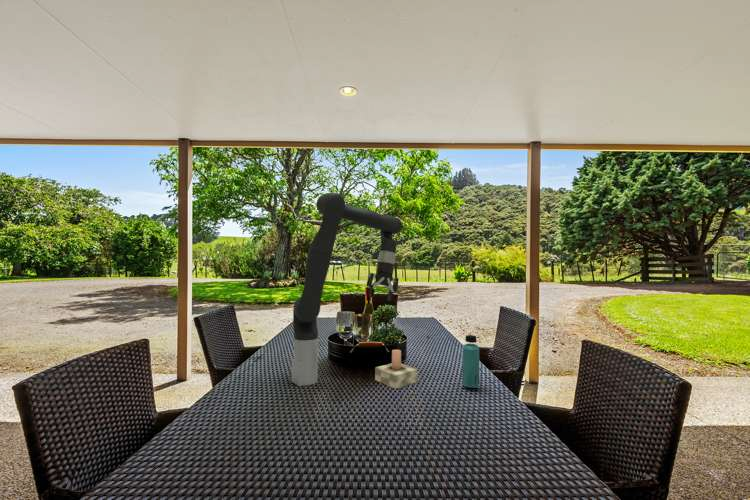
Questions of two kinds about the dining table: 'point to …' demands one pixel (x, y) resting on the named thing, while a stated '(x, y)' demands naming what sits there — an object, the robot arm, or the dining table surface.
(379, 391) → the dining table surface
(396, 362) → the peg
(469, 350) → the beverage bottle
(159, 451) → the dining table surface
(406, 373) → the socket
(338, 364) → the dining table surface
